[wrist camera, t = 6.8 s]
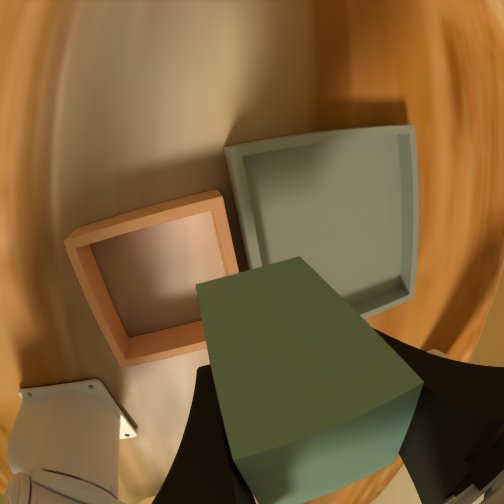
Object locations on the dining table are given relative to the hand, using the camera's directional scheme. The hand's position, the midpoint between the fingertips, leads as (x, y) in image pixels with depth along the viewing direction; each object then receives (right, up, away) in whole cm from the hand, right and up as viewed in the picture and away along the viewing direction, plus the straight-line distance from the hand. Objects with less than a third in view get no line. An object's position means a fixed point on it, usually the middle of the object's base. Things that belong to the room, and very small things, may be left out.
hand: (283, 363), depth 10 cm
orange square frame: (-7, +2, +9) cm, 11 cm away
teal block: (-1, +1, +3) cm, 3 cm away
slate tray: (+5, +5, +11) cm, 13 cm away
